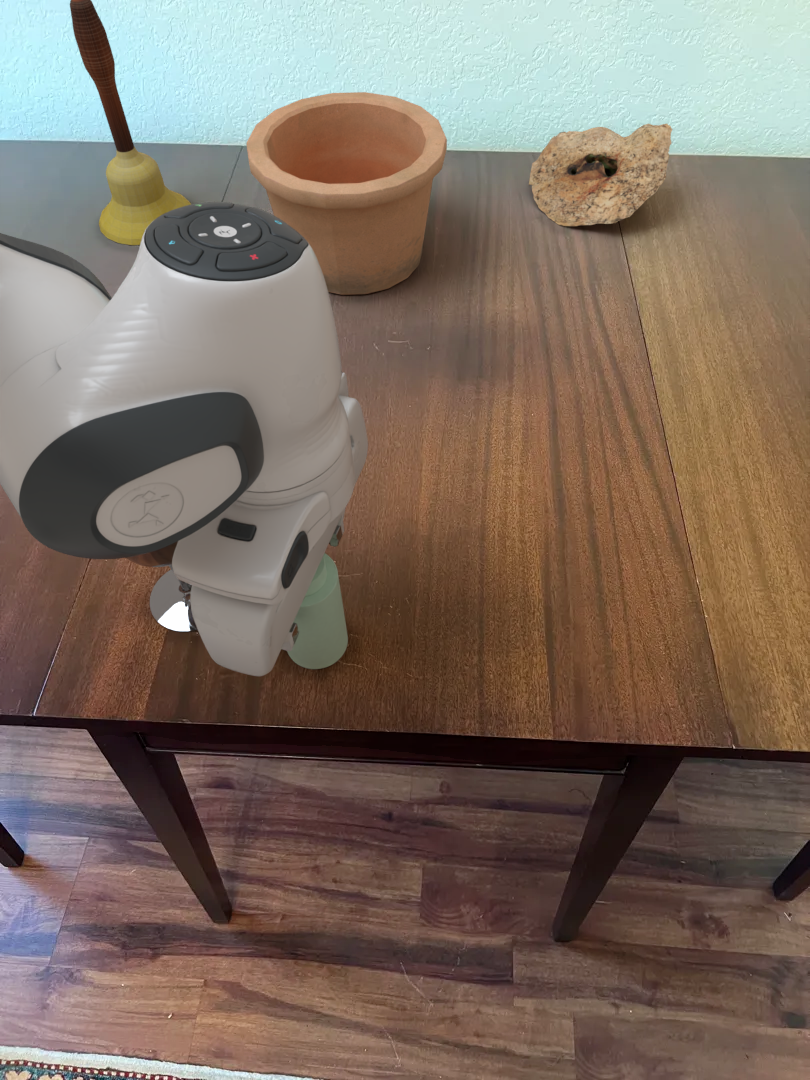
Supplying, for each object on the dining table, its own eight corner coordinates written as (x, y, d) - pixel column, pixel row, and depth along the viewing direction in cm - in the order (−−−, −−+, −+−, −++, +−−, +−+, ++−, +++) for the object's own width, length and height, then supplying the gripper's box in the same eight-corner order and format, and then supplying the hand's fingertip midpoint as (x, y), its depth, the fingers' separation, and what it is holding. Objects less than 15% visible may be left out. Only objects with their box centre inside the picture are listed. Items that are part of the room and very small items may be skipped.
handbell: (196, 238, 99) (139, 16, 79) (97, 251, 98) (14, 29, 78) (191, 186, 106) (138, -29, 86) (99, 197, 105) (23, -19, 85)
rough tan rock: (533, 262, 106) (515, 220, 100) (549, 182, 111) (533, 137, 105) (671, 241, 97) (661, 194, 91) (682, 155, 102) (673, 105, 96)
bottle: (276, 659, 64) (243, 559, 52) (299, 607, 67) (273, 501, 55) (335, 676, 63) (315, 578, 51) (356, 623, 66) (342, 517, 54)
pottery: (246, 302, 92) (221, 186, 80) (291, 198, 104) (275, 85, 93) (429, 318, 89) (430, 202, 78) (452, 210, 102) (456, 96, 90)
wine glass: (190, 544, 71) (143, 430, 59) (255, 586, 69) (219, 475, 56) (125, 605, 68) (60, 497, 55) (191, 652, 65) (138, 549, 53)
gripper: (296, 346, 54) (319, 475, 65) (155, 589, 42) (212, 695, 54) (383, 363, 52) (391, 492, 64) (261, 618, 41) (297, 720, 52)
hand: (309, 587), depth 59 cm, fingers open, 8 cm apart
